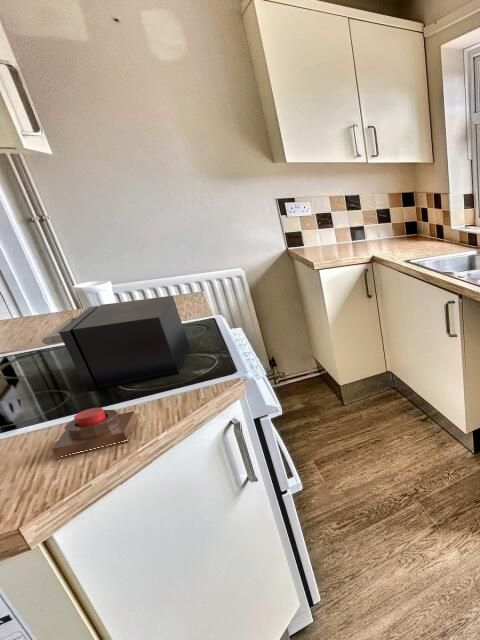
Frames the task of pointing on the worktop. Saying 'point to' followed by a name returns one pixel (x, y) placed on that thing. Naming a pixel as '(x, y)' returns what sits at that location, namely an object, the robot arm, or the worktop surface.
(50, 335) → the oven door
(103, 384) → the oven
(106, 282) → the cup
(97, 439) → the block
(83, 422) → the button
